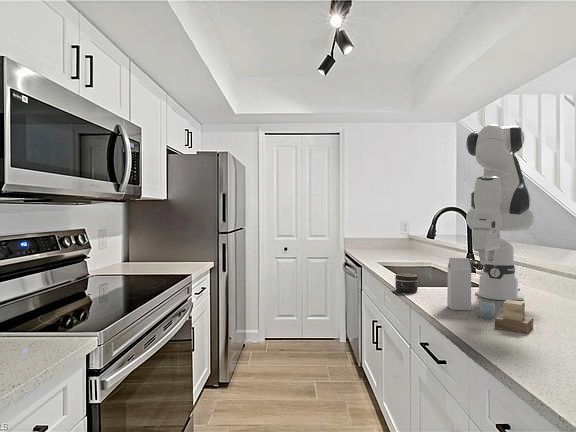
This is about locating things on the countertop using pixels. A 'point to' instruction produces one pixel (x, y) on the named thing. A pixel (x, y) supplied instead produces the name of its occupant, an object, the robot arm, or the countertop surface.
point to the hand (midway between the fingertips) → (487, 263)
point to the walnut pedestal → (514, 324)
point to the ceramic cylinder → (487, 310)
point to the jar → (406, 283)
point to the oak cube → (514, 310)
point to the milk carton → (459, 284)
